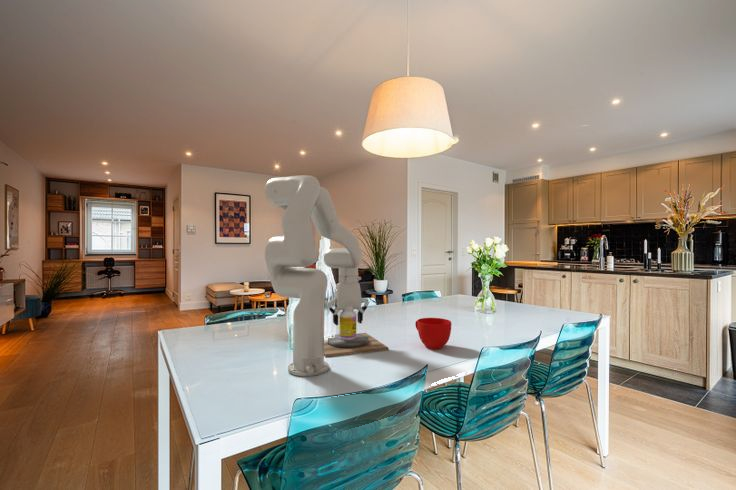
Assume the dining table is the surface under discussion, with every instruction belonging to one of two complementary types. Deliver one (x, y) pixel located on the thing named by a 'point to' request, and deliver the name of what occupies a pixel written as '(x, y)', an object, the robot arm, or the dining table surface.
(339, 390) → the dining table surface
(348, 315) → the supplement bottle
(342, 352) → the mount board
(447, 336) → the ceramic cup
